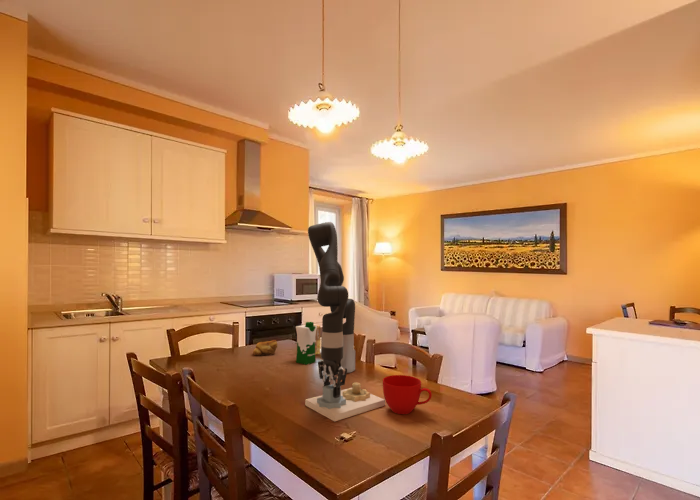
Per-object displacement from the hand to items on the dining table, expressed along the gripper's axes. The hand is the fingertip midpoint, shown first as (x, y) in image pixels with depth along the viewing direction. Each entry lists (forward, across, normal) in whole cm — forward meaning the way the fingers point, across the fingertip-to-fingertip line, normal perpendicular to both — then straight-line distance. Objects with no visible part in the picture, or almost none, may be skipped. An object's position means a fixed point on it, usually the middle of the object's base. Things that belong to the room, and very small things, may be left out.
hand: (331, 394), depth 127 cm
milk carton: (+5, +57, -26) cm, 63 cm away
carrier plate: (+5, 0, -6) cm, 8 cm away
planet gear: (+3, 0, 0) cm, 3 cm away
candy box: (+5, +70, -38) cm, 80 cm away
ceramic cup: (+5, -17, -19) cm, 26 cm away
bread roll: (+5, +84, -17) cm, 86 cm away
